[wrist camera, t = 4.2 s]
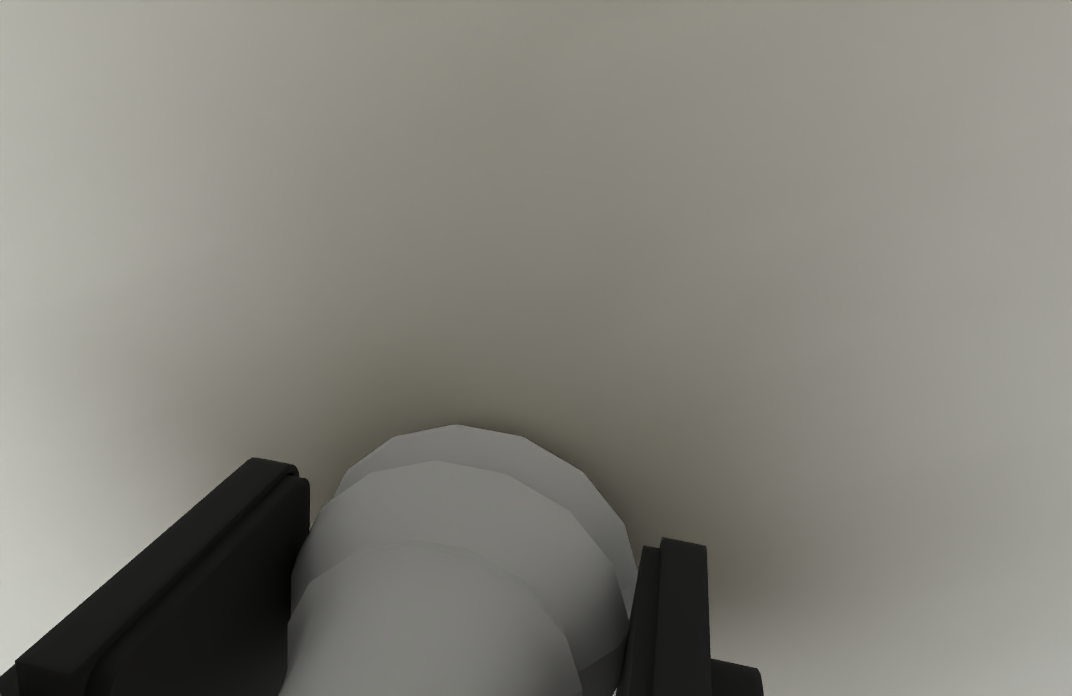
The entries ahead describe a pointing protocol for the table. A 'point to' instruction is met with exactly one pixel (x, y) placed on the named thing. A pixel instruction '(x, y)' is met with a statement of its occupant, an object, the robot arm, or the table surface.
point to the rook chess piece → (461, 575)
